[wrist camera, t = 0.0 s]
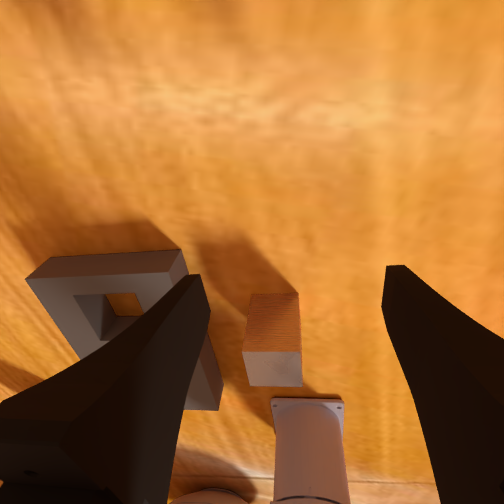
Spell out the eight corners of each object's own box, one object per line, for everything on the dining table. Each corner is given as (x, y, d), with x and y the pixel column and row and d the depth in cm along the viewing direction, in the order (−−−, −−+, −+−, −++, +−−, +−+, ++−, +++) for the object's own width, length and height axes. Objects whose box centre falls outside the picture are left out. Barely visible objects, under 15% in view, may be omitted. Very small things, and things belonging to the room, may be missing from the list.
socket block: (223, 384, 33) (218, 410, 31) (125, 382, 35) (113, 407, 33) (181, 249, 24) (168, 272, 21) (50, 257, 26) (24, 279, 23)
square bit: (300, 326, 27) (302, 387, 22) (257, 326, 28) (250, 386, 23) (298, 292, 25) (299, 351, 20) (251, 294, 26) (241, 351, 21)
